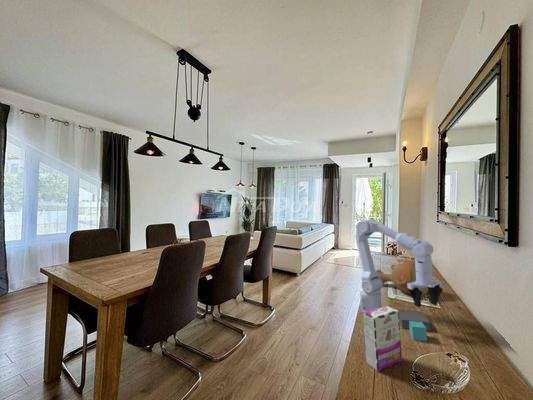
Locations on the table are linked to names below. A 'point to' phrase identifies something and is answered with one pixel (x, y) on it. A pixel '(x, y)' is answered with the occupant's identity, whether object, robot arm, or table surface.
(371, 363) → the candy bar box
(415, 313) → the block
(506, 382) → the table surface
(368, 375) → the table surface
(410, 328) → the teal block
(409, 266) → the jug
